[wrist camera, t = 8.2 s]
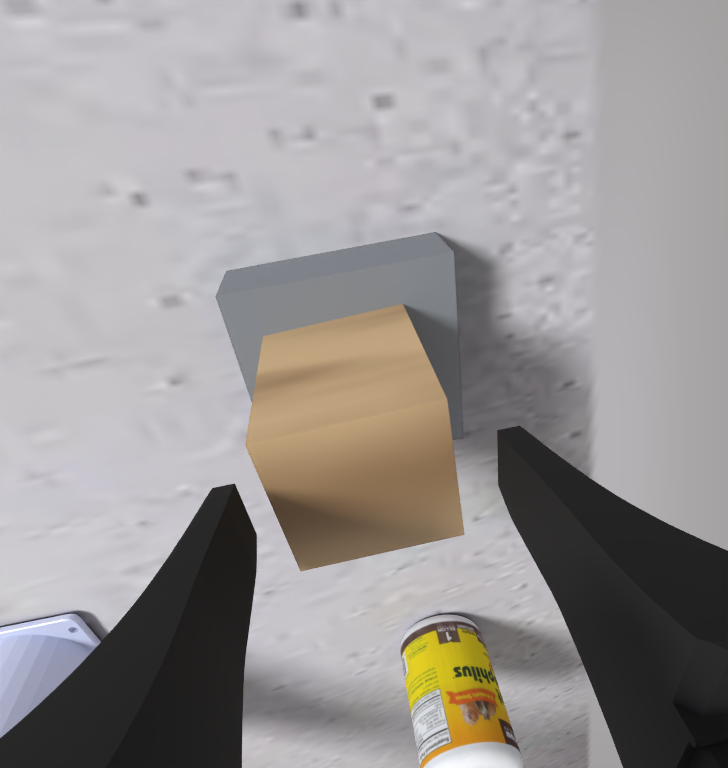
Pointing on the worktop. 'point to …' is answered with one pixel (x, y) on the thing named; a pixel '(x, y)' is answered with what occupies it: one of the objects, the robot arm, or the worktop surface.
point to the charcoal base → (351, 301)
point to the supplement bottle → (455, 697)
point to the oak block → (353, 439)
